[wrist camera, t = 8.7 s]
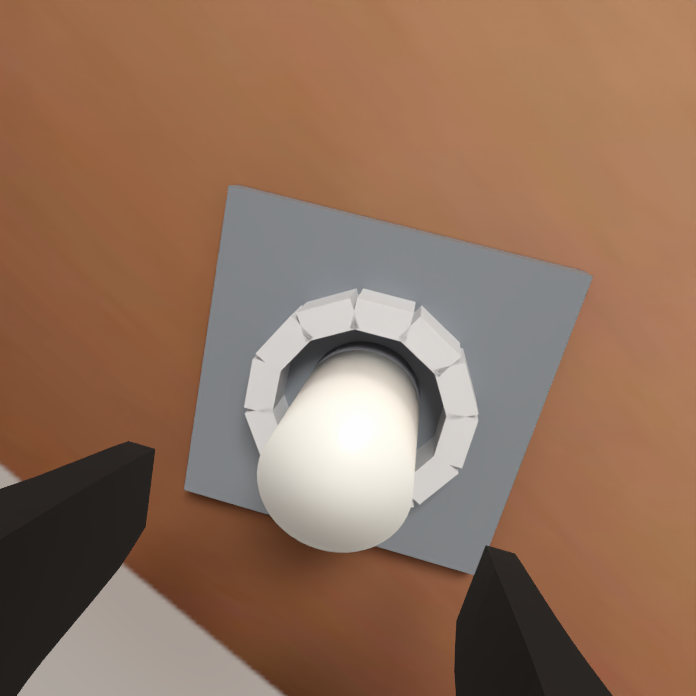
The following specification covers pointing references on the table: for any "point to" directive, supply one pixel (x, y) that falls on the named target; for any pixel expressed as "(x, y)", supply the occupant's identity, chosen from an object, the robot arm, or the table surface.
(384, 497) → the rounded peg
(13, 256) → the table surface
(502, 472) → the socket holder
